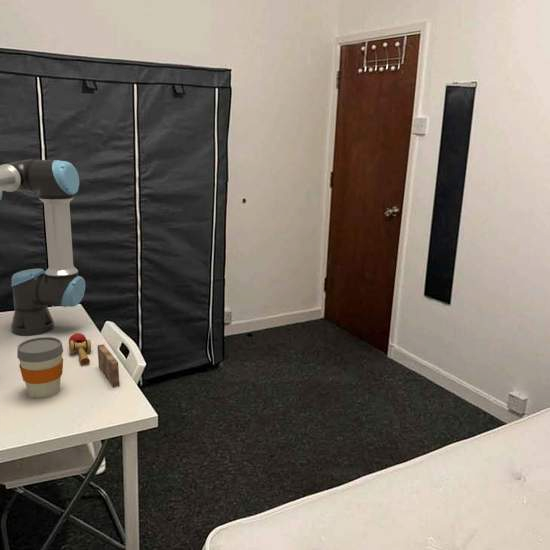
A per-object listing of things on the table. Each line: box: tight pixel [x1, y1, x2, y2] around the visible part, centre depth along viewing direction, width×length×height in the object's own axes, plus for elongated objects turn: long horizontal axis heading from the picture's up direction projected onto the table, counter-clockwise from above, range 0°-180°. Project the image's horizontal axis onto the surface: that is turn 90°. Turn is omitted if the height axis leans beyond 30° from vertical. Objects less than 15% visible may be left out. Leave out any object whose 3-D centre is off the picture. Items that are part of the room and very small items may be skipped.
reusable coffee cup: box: [16, 336, 64, 399], centre depth 164 cm, size 13×13×15 cm
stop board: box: [96, 343, 120, 388], centre depth 175 cm, size 16×2×8 cm, turn 32°
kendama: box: [68, 332, 92, 366], centre depth 190 cm, size 8×6×18 cm
